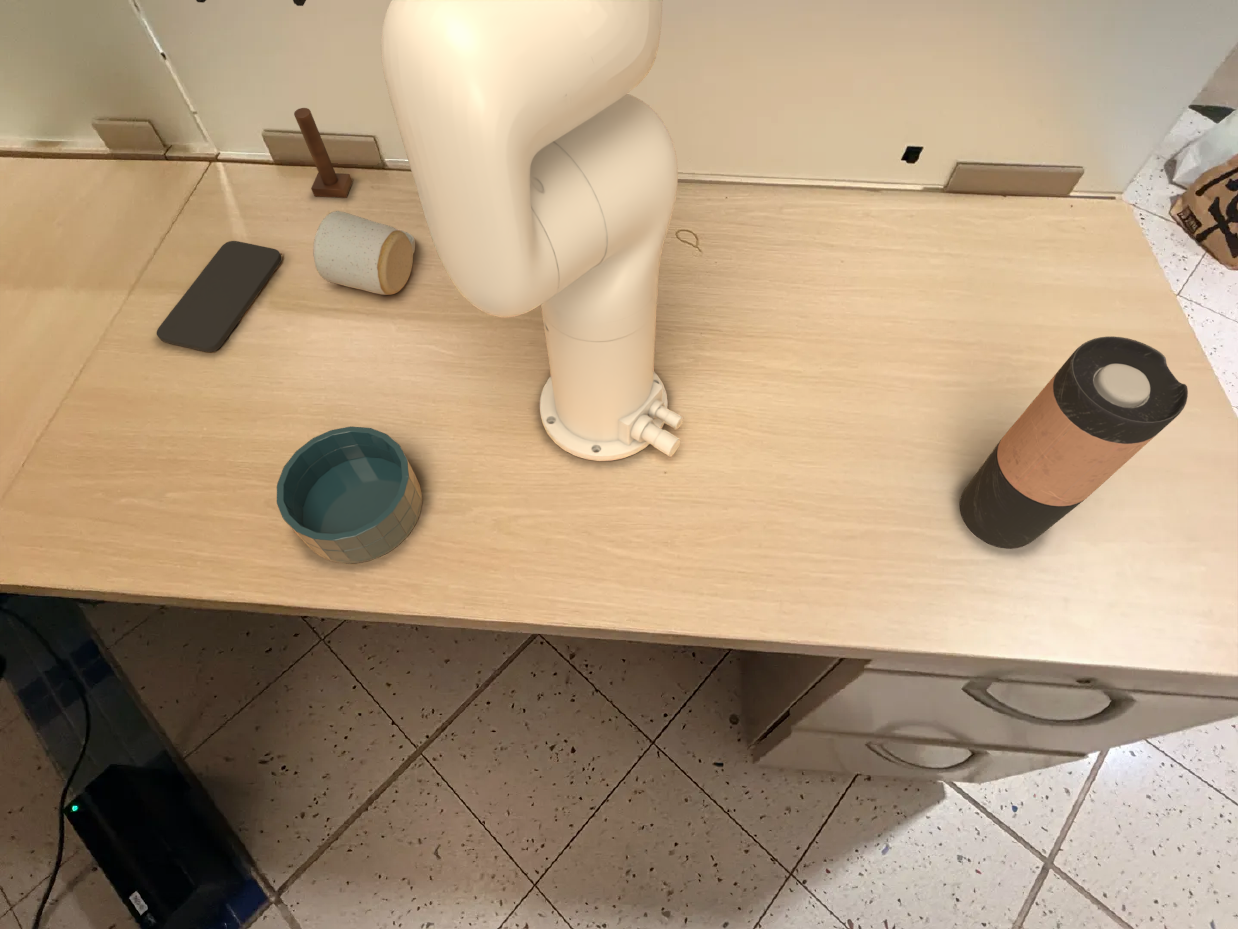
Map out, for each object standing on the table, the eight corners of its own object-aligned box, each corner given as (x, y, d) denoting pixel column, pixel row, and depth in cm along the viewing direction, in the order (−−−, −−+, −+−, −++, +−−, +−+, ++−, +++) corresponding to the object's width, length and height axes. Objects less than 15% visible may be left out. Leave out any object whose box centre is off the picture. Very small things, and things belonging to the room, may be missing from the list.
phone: (151, 335, 77) (226, 238, 84) (155, 341, 78) (229, 244, 85) (212, 350, 76) (284, 250, 83) (216, 355, 77) (286, 255, 84)
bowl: (434, 460, 70) (421, 431, 66) (406, 568, 64) (390, 544, 60) (320, 451, 70) (300, 422, 66) (282, 558, 65) (257, 534, 60)
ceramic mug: (394, 311, 79) (374, 257, 73) (327, 296, 81) (301, 241, 74) (435, 246, 85) (419, 190, 78) (371, 233, 86) (350, 177, 80)
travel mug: (943, 524, 66) (1054, 390, 49) (973, 463, 69) (1087, 318, 52) (1027, 567, 64) (1175, 444, 46) (1054, 502, 67) (1202, 364, 50)
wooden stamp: (352, 181, 91) (323, 104, 82) (346, 197, 89) (315, 121, 80) (321, 180, 91) (288, 103, 82) (314, 196, 89) (280, 119, 81)
